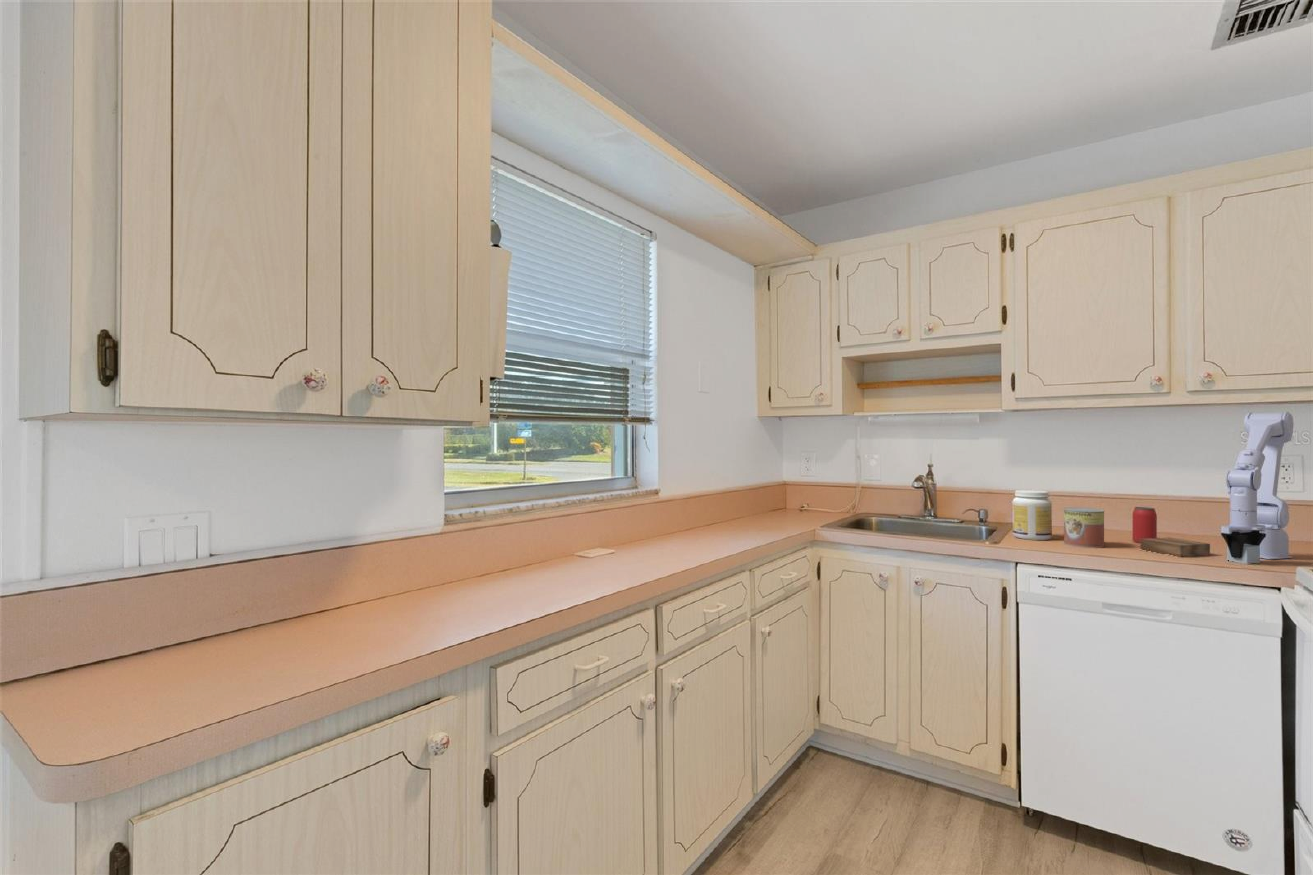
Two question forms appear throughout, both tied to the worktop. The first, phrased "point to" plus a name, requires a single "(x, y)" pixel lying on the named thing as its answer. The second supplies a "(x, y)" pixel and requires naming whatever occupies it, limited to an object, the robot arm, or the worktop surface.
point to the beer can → (1144, 523)
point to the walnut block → (1175, 547)
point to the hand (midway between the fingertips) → (1243, 557)
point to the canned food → (1084, 527)
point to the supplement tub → (1032, 515)
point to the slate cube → (1246, 554)
